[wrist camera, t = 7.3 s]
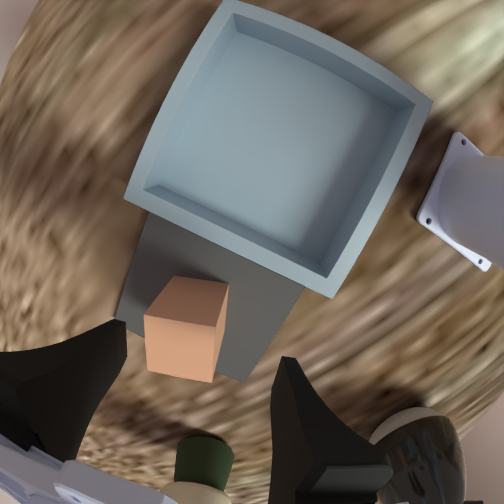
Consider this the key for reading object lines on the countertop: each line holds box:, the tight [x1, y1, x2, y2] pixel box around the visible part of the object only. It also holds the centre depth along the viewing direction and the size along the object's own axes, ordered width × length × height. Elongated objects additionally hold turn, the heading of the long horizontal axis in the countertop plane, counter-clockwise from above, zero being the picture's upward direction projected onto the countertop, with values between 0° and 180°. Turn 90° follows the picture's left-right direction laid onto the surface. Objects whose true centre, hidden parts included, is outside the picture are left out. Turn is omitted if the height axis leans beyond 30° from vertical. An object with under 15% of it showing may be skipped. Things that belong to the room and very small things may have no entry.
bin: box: [123, 0, 433, 299], centre depth 17 cm, size 14×14×4 cm
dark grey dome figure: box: [369, 407, 483, 504], centre depth 18 cm, size 10×10×15 cm
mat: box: [115, 212, 305, 383], centre depth 22 cm, size 12×10×1 cm
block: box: [144, 276, 229, 383], centre depth 19 cm, size 4×4×6 cm
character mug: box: [160, 436, 234, 504], centre depth 21 cm, size 11×7×13 cm, turn 64°
